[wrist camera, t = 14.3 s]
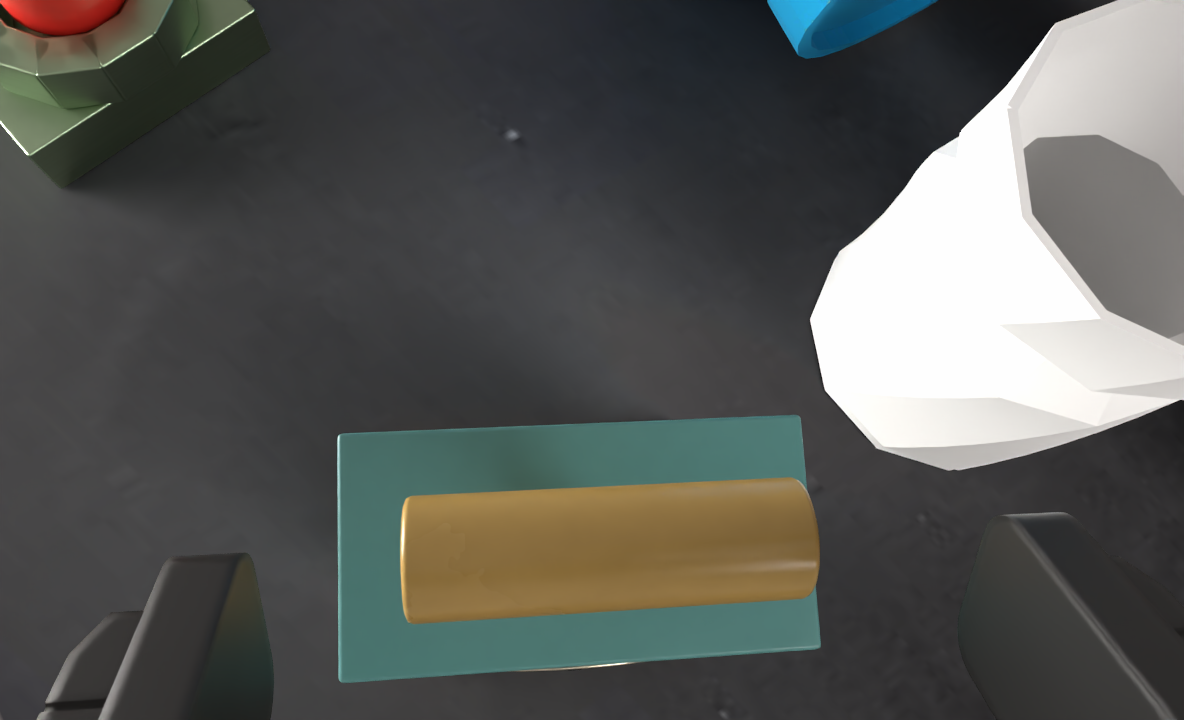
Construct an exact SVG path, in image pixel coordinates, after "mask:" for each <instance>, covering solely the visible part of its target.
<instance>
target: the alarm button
mask: <svg viewBox="0 0 1184 720" xmlns="http://www.w3.org/2000/svg"><path fill="white" fill-rule="evenodd" d="M124 2H125V0H0V3H1V4H2V6H3V7H4V8H5V9H6V11H7V12H8V13H9V14H10V15H11V16H12V17H13V18H14V19H15V20H16V21H17V22H19V23H20V24H21V25H23V26H25V27H27V28H28V29H31V30H33V31H36V32H39V33H43V34H48V35H57V36H65V35H74V34H80V33H83V32H87V31H89V30H92V29H94V28H96V27H98V26H100V25H101V24H103V23H105V22H106V21H108V20H109V19H110V18H111V17H113V16H114V15H115V14H116V13H117V12H118V10H119V9H120V8H121V6H122V5H123V3H124Z"/></svg>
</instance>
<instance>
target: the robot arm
mask: <svg viewBox="0 0 1184 720" xmlns="http://www.w3.org/2000/svg"><path fill="white" fill-rule="evenodd" d="M958 640H959V647H960V651H961V655H962V658H963V661H964V664H965V666H966V668H967V670H968V672H969V674H970V676H971V678H972V679H973V681H974V683H975V684H976V686H977V688H978V689H979V691H980V693H981V694H982V696H983V698H984V699H985V701H986V703H987V705H988V706H989V708H990V710H991V711H992V713H993V715H994V716H995V718H996V720H1184V607H1183V606H1182V605H1181V604H1180V603H1179V602H1178V600H1177V599H1176V598H1175V597H1174V596H1173V595H1172V594H1171V593H1170V592H1169V591H1168V590H1167V589H1166V588H1165V587H1164V586H1162V585H1161V584H1159V583H1158V582H1156V581H1155V580H1153V579H1152V578H1150V577H1149V576H1147V575H1146V574H1144V573H1143V572H1141V571H1140V570H1138V569H1137V568H1135V567H1134V566H1132V565H1131V564H1129V563H1128V562H1126V561H1125V560H1123V559H1122V558H1120V557H1119V556H1109V555H1108V554H1107V553H1106V552H1105V551H1104V550H1103V549H1102V547H1101V546H1100V545H1099V544H1098V543H1097V542H1096V541H1095V539H1094V538H1093V537H1092V536H1091V535H1090V534H1089V533H1088V532H1087V530H1086V529H1085V528H1084V527H1083V526H1082V525H1081V524H1080V523H1079V522H1078V521H1077V520H1076V519H1075V518H1074V517H1072V516H1071V515H1069V514H1067V513H1063V512H1053V513H1034V514H1015V515H999V516H996V517H994V518H992V519H991V520H990V521H989V523H988V524H987V526H986V528H985V531H984V534H983V537H982V541H981V544H980V547H979V550H978V554H977V557H976V560H975V564H974V567H973V570H972V573H971V577H970V580H969V583H968V587H967V590H966V593H965V596H964V600H963V603H962V606H961V609H960V613H959V617H958ZM273 688H274V673H273V660H272V654H271V649H270V644H269V639H268V634H267V629H266V624H265V619H264V614H263V608H262V603H261V598H260V593H259V588H258V583H257V578H256V573H255V568H254V564H253V561H252V559H251V557H250V555H249V554H248V553H230V554H211V555H192V556H173V557H170V558H169V559H168V560H167V561H166V562H165V564H164V565H163V567H162V569H161V572H160V574H159V576H158V579H157V581H156V583H155V586H154V588H153V591H152V593H151V595H150V598H149V600H148V602H147V605H146V607H145V610H144V611H128V612H111V613H110V614H109V615H108V616H107V617H106V618H105V619H104V620H103V621H102V622H101V623H100V624H99V625H98V626H97V627H96V628H95V629H94V630H93V631H92V632H91V633H90V634H89V635H88V636H87V637H86V638H85V639H84V640H83V641H82V642H81V643H80V644H79V645H78V646H77V647H76V648H75V649H74V650H73V651H72V652H71V653H70V654H69V655H68V657H67V659H66V661H65V663H64V665H63V667H62V669H61V672H60V674H59V676H58V678H57V680H56V682H55V684H54V686H53V688H52V690H51V692H50V694H49V696H48V698H47V700H46V702H45V704H46V708H45V711H44V712H41V713H40V714H39V716H38V719H37V720H270V718H271V712H272V703H273Z"/></svg>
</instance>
